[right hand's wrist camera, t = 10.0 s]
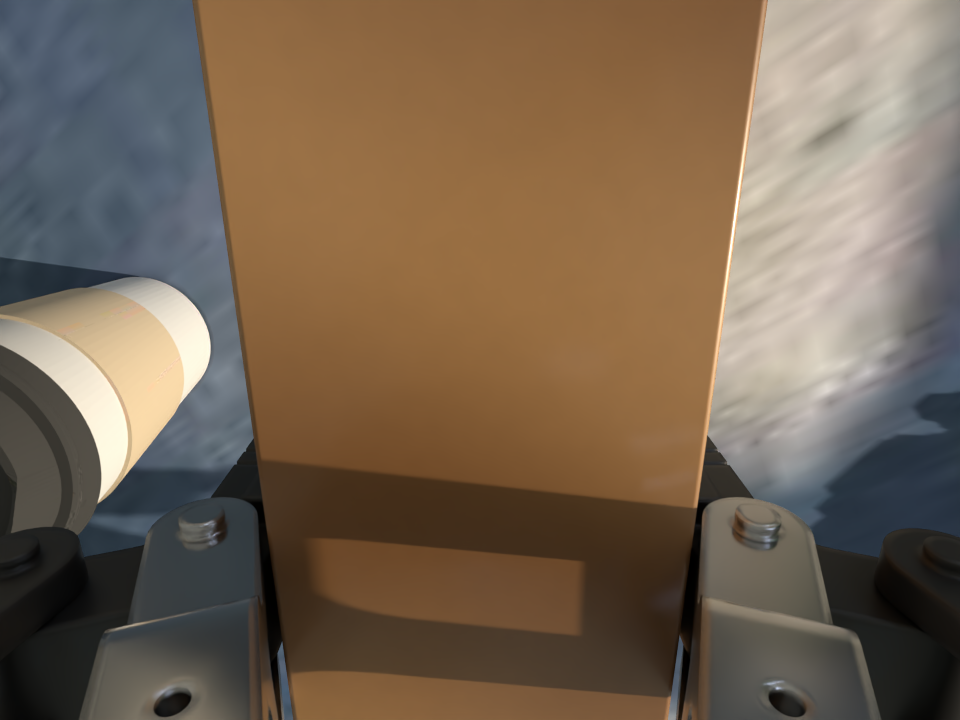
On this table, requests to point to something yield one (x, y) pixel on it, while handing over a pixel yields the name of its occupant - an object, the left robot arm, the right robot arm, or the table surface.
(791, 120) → the table surface
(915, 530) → the right robot arm
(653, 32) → the beam
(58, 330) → the coffee cup
